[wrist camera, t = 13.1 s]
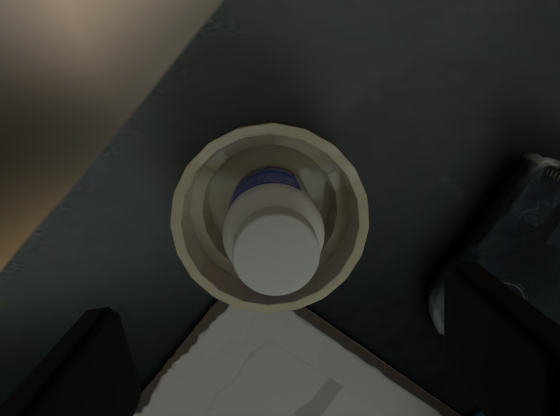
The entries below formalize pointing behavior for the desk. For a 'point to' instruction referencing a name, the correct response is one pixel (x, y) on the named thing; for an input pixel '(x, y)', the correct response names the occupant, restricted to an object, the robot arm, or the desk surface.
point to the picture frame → (279, 372)
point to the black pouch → (516, 237)
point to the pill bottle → (273, 231)
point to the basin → (218, 193)
